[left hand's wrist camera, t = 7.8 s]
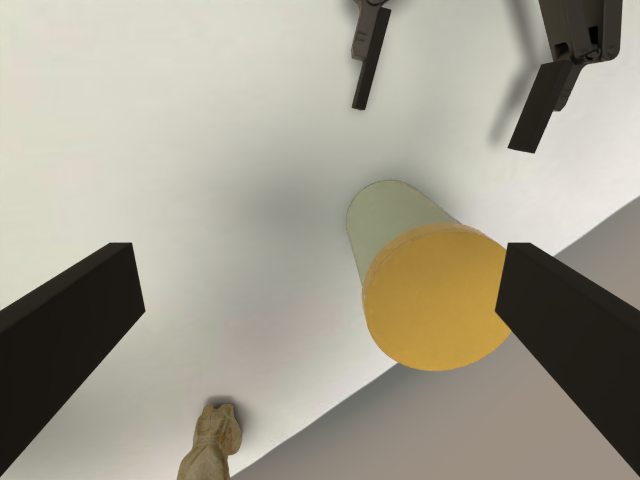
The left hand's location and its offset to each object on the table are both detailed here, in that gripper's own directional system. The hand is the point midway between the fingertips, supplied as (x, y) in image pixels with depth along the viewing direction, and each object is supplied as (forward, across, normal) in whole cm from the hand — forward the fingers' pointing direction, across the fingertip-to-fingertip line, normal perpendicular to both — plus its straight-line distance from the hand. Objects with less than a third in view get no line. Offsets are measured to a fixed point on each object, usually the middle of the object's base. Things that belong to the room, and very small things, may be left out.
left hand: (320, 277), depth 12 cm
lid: (+7, +7, -5) cm, 11 cm away
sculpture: (+23, -12, -32) cm, 41 cm away
